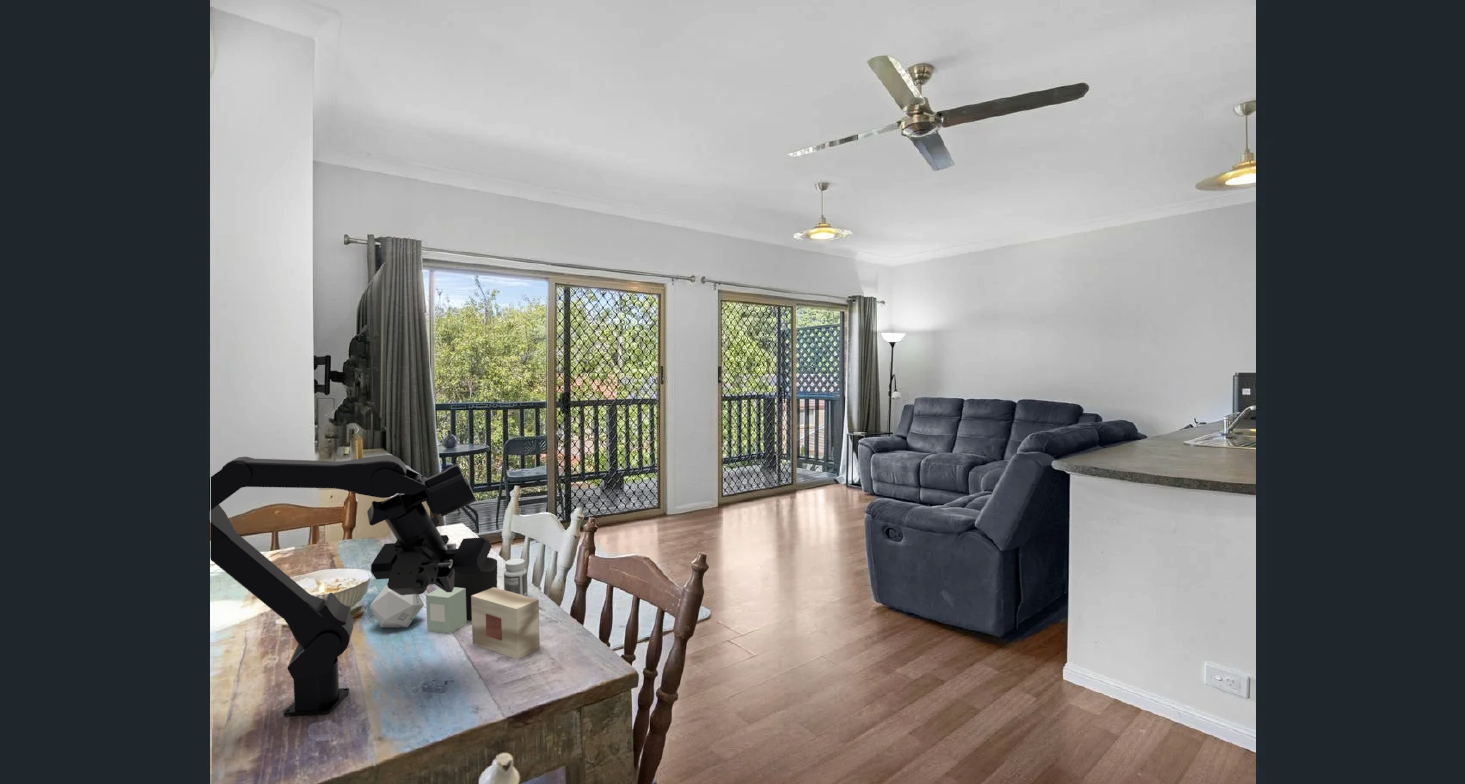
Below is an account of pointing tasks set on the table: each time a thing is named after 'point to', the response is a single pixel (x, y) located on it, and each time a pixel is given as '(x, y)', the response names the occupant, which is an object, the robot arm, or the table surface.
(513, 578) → the pill bottle
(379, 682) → the table surface
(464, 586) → the pen holder
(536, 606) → the birch block
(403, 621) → the die
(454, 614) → the sage block
